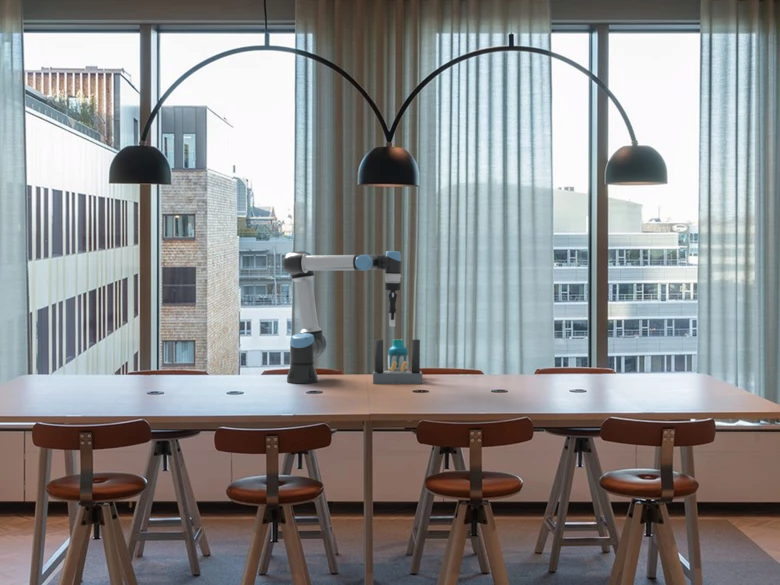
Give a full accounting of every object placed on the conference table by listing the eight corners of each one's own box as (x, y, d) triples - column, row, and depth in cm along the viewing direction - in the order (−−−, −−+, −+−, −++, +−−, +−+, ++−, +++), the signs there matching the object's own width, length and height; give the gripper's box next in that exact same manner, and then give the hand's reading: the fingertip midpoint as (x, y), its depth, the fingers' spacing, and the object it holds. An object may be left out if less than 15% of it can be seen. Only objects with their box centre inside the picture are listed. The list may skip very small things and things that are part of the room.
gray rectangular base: (373, 383, 462) (373, 372, 462) (372, 380, 472) (373, 370, 472) (422, 383, 463) (422, 372, 463) (421, 380, 473) (421, 370, 473)
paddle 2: (400, 369, 466) (404, 361, 466) (400, 369, 469) (404, 361, 469) (403, 371, 466) (407, 363, 466) (403, 370, 469) (407, 362, 469)
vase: (384, 376, 490) (384, 339, 489) (402, 374, 495) (402, 338, 494) (393, 378, 481) (393, 340, 480) (411, 377, 485) (411, 340, 484)
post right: (411, 372, 466) (411, 340, 465) (411, 371, 470) (411, 339, 469) (419, 372, 466) (420, 340, 465) (419, 371, 470) (419, 339, 469)
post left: (375, 372, 465) (375, 340, 464) (375, 371, 469) (374, 339, 468) (383, 372, 465) (383, 340, 465) (383, 371, 469) (383, 339, 469)
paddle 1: (390, 370, 466) (394, 361, 466) (390, 369, 469) (394, 361, 469) (393, 371, 466) (397, 363, 466) (393, 370, 469) (397, 362, 469)
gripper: (401, 283, 455) (400, 327, 456) (399, 281, 480) (399, 323, 481) (385, 283, 455) (384, 327, 456) (385, 281, 480) (384, 322, 481)
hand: (392, 325), depth 468 cm, fingers open, 13 cm apart
